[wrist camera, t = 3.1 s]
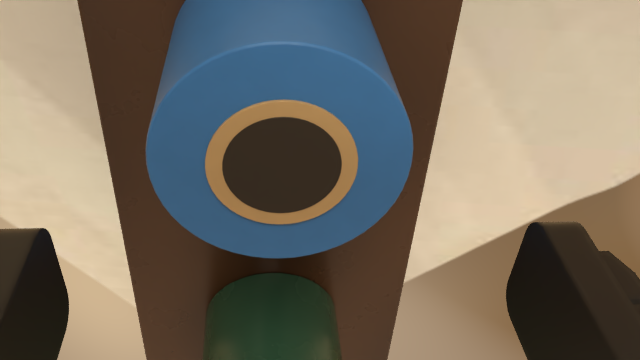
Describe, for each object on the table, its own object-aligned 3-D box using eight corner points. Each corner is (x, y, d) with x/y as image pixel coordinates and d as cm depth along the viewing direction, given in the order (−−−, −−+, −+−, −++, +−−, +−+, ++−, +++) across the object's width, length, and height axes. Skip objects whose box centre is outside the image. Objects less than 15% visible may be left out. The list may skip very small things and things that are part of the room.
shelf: (178, 206, 35) (151, 389, 26) (134, -198, 23) (50, -132, 13) (349, 204, 36) (383, 379, 27) (394, -183, 24) (487, -112, 14)
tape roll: (179, 141, 18) (159, 265, 14) (160, -50, 15) (126, 41, 11) (364, 141, 19) (395, 259, 15) (387, -43, 15) (436, 46, 11)
